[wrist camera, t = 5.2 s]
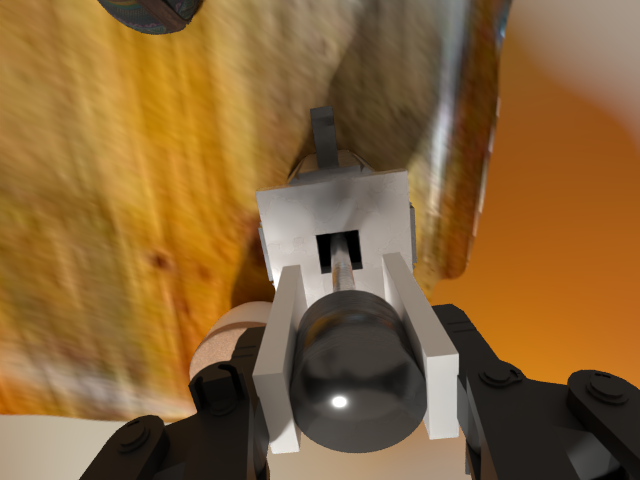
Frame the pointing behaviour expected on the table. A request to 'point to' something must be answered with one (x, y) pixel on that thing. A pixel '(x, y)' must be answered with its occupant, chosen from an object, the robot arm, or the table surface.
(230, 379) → the robot arm
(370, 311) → the plunger
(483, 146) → the table surface
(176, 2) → the mate gourd
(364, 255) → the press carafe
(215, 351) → the lidded jar
